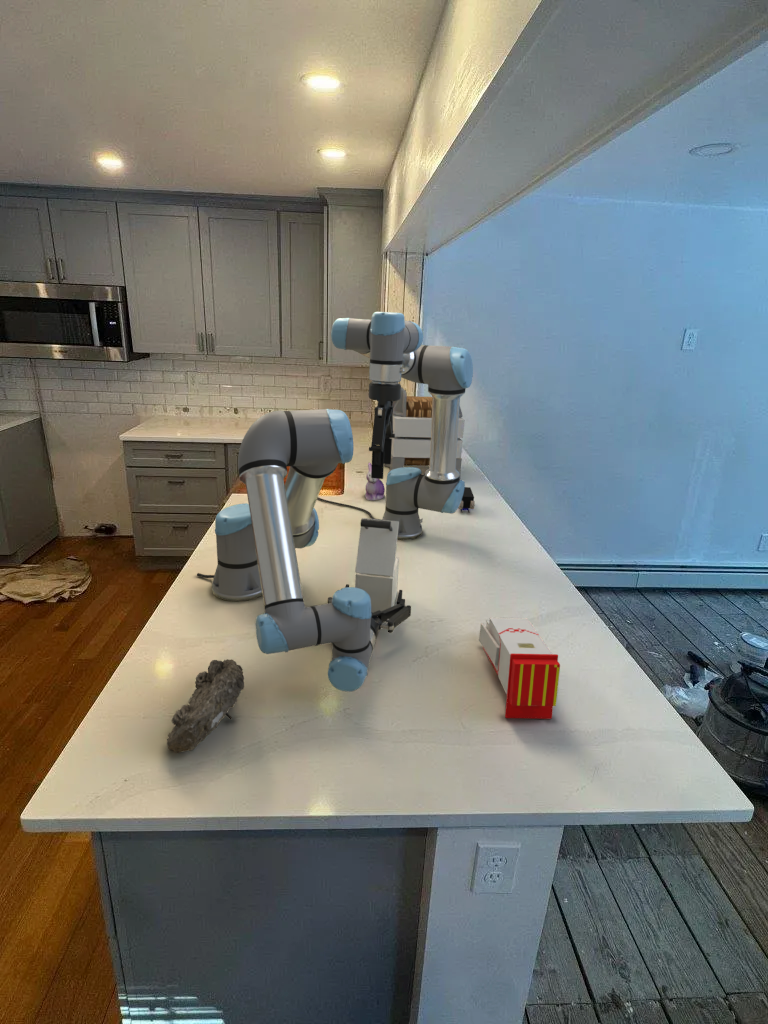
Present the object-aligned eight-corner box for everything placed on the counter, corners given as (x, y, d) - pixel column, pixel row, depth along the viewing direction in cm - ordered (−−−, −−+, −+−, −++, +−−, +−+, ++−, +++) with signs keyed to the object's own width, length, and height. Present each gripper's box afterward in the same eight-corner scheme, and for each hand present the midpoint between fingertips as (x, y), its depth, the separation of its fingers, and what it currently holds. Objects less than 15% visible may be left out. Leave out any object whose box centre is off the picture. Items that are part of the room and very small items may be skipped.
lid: (362, 518, 146) (357, 511, 137) (399, 522, 145) (396, 515, 136) (355, 572, 144) (350, 569, 135) (393, 576, 143) (389, 573, 133)
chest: (363, 589, 159) (364, 554, 156) (397, 593, 158) (399, 557, 155) (354, 613, 147) (355, 575, 143) (390, 617, 146) (392, 578, 142)
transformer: (382, 463, 289) (386, 382, 275) (445, 464, 293) (451, 384, 279) (390, 482, 257) (394, 392, 243) (460, 483, 261) (468, 394, 247)
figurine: (369, 502, 230) (370, 466, 225) (359, 494, 239) (360, 460, 234) (390, 499, 234) (391, 464, 229) (378, 492, 243) (380, 458, 238)
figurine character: (474, 518, 222) (469, 501, 235) (476, 500, 218) (471, 485, 232) (457, 517, 222) (452, 501, 235) (459, 500, 218) (454, 484, 232)
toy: (525, 603, 136) (569, 660, 107) (520, 654, 139) (562, 725, 109) (475, 601, 135) (505, 659, 106) (471, 653, 138) (499, 724, 109)
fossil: (192, 660, 117) (244, 628, 112) (224, 691, 120) (276, 661, 115) (142, 746, 98) (202, 712, 93) (182, 779, 101) (242, 748, 96)
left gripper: (303, 645, 127) (325, 599, 146) (414, 657, 124) (422, 610, 144) (303, 615, 124) (326, 573, 144) (417, 627, 121) (424, 583, 141)
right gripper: (394, 390, 120) (389, 486, 127) (406, 377, 143) (402, 459, 150) (359, 388, 120) (356, 483, 128) (377, 375, 144) (374, 457, 151)
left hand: (374, 591), depth 144 cm, fingers open, 13 cm apart
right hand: (381, 470), depth 139 cm, fingers open, 13 cm apart
